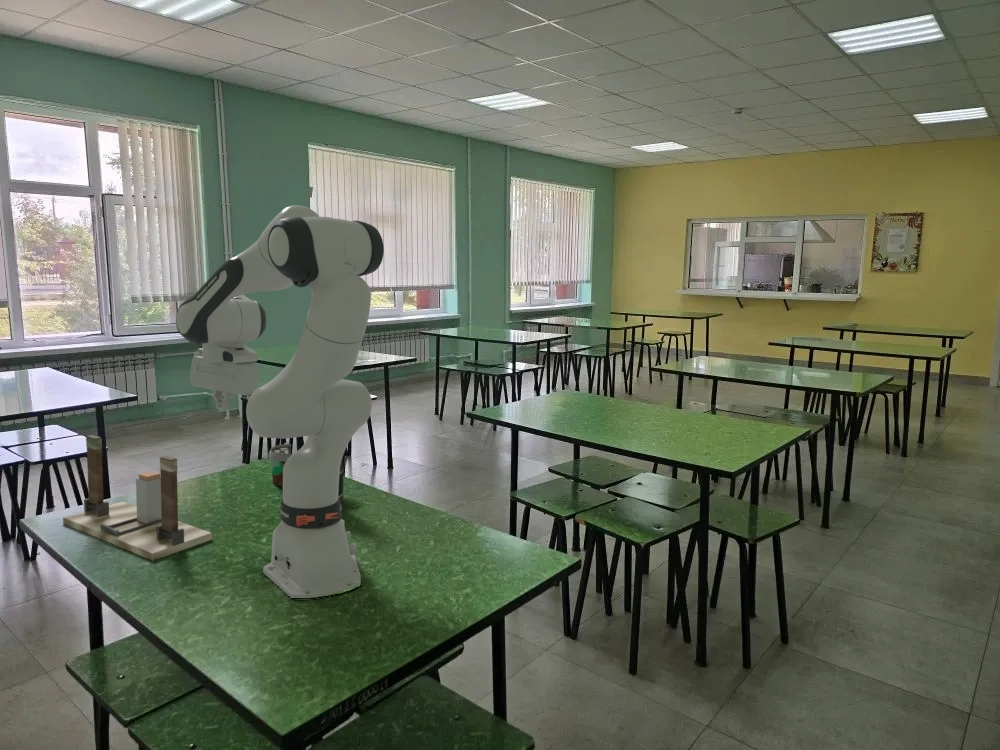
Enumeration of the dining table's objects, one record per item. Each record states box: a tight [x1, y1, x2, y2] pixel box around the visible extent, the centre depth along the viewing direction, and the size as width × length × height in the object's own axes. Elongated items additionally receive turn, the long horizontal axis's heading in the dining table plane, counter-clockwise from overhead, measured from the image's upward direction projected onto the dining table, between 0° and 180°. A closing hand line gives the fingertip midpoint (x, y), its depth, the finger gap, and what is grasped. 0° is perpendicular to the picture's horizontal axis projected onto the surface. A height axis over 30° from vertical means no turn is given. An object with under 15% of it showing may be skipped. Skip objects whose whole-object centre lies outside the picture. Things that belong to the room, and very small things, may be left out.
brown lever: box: [159, 455, 179, 539], centre depth 143 cm, size 2×4×18 cm, turn 60°
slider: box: [135, 470, 162, 524], centre depth 154 cm, size 4×4×11 cm
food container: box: [267, 443, 292, 487], centre depth 191 cm, size 12×6×10 cm, turn 17°
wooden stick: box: [85, 434, 104, 511], centre depth 157 cm, size 2×4×18 cm, turn 60°
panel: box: [62, 497, 213, 562], centre depth 152 cm, size 34×14×5 cm, turn 60°
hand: (223, 409), depth 160 cm, fingers closed
